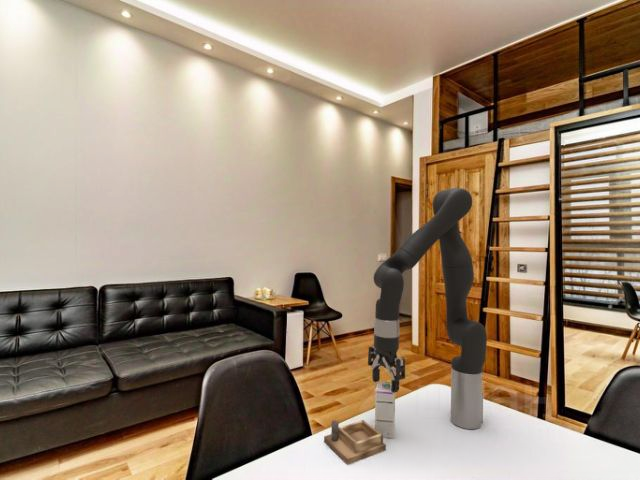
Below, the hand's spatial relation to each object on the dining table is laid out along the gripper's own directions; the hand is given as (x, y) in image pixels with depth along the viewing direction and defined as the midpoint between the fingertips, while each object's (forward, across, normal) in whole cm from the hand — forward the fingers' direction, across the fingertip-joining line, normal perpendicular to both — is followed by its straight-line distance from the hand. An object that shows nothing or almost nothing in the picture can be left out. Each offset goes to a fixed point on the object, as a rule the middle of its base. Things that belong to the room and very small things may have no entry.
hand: (385, 386), depth 110 cm
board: (+14, -1, +12) cm, 19 cm away
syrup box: (+14, 0, 0) cm, 15 cm away
